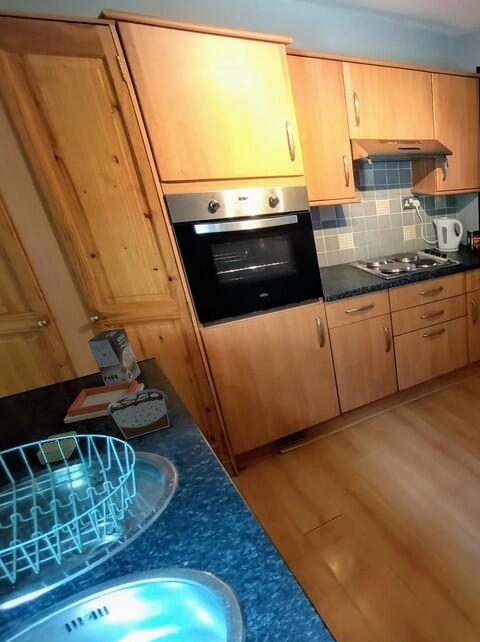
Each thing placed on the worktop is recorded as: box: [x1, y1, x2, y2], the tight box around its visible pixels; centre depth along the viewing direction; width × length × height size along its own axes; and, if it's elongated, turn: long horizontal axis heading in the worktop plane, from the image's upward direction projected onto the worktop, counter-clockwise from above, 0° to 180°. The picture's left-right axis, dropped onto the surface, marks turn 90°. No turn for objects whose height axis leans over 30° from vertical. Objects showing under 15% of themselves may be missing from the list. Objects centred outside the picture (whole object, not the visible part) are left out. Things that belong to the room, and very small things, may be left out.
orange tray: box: [63, 379, 145, 424], centre depth 131 cm, size 15×15×3 cm
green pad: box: [36, 430, 80, 465], centre depth 111 cm, size 5×8×3 cm, turn 27°
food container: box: [107, 388, 171, 440], centre depth 119 cm, size 12×6×10 cm, turn 130°
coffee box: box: [87, 328, 141, 386], centre depth 141 cm, size 9×6×16 cm
